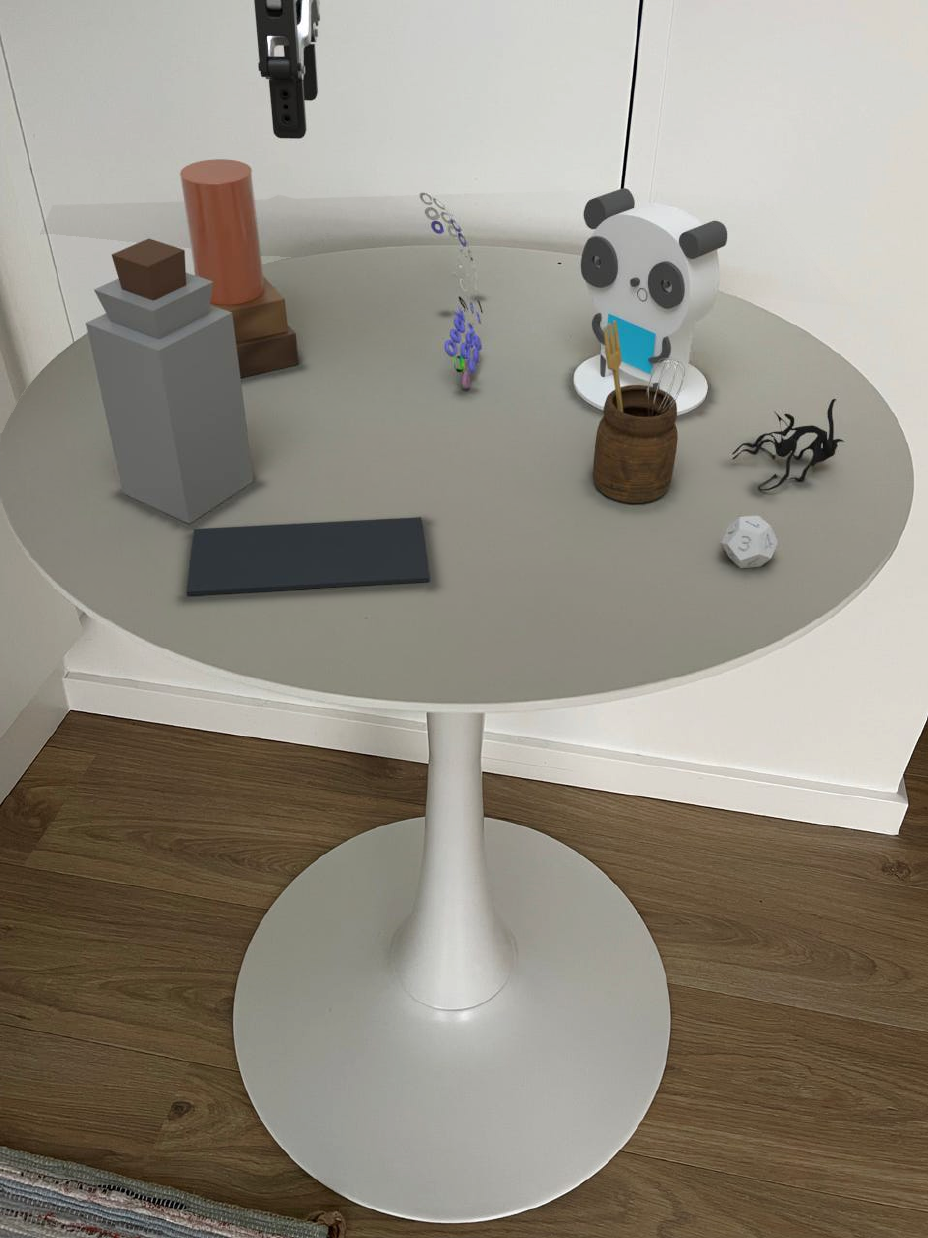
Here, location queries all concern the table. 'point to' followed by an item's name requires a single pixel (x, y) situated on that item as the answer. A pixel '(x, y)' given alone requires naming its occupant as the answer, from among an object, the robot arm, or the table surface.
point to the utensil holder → (635, 435)
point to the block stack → (263, 333)
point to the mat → (307, 556)
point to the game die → (749, 541)
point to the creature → (791, 445)
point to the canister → (224, 229)
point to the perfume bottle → (170, 384)
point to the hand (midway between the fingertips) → (297, 117)
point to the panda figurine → (648, 294)
